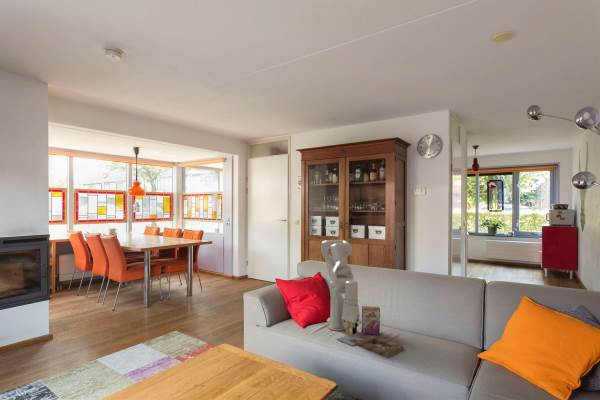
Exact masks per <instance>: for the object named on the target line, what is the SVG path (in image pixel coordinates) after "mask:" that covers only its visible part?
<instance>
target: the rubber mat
mask: <svg viewBox="0 0 600 400" xmlns="http://www.w3.org/2000/svg"><path fill="white" fill-rule="evenodd" d="M364 339H365V338H364ZM364 339H363V338H361V337H358V336H354V337H349V336H346V335H344V336H340V337H339V338H336V341H338V342H341V343H344V344H345V345H348V346H350V347H354V346H357V342H359V341H361V340H364Z"/></svg>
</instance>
